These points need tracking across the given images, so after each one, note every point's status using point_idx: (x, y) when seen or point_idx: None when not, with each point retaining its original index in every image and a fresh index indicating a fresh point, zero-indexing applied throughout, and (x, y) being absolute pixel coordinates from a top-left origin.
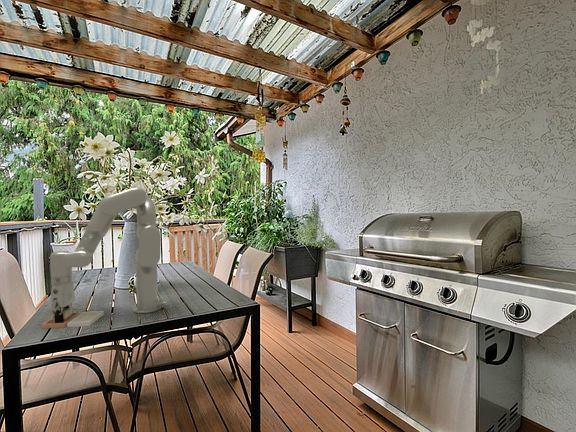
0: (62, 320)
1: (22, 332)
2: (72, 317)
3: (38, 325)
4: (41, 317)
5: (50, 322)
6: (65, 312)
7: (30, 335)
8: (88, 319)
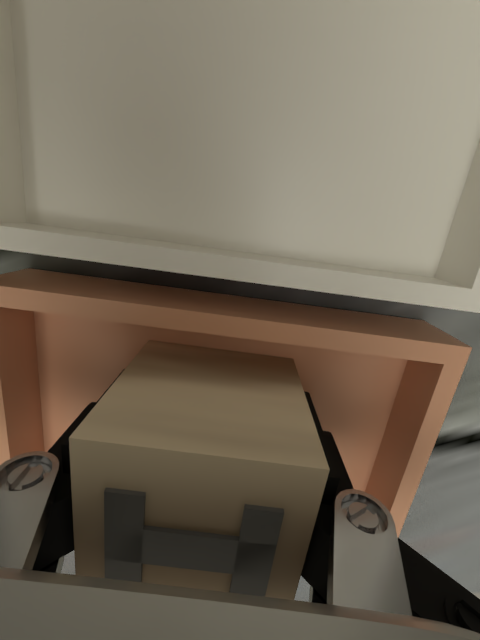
0: (316, 413)
1: None
2: (233, 325)
3: None
4: None
5: None
6: (324, 463)
7: (460, 538)
8: (212, 97)
